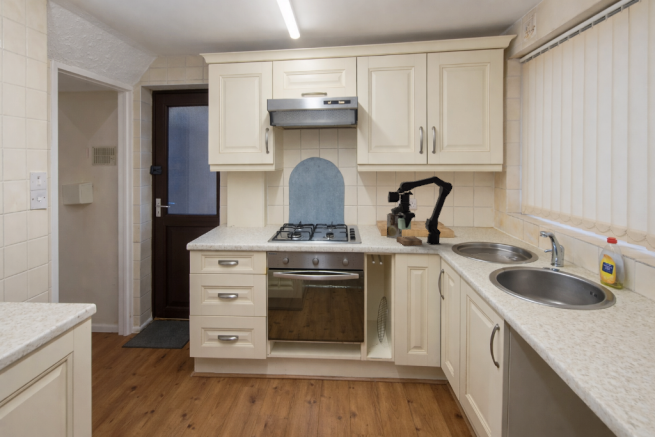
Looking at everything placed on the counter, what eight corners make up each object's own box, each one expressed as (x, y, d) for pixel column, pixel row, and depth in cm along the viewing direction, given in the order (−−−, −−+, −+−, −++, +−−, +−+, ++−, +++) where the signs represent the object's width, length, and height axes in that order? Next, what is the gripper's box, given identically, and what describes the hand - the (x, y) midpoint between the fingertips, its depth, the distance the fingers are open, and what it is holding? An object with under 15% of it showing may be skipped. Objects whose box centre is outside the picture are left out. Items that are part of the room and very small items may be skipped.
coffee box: (402, 237, 243) (403, 213, 241) (398, 238, 238) (399, 214, 235) (389, 235, 248) (390, 212, 245) (386, 237, 243) (386, 213, 240)
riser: (414, 240, 232) (414, 236, 231) (421, 245, 220) (422, 240, 220) (396, 241, 230) (396, 236, 229) (403, 245, 218) (403, 241, 218)
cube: (407, 227, 226) (407, 218, 225) (410, 229, 220) (411, 219, 219) (398, 228, 225) (398, 218, 224) (401, 229, 219) (401, 220, 218)
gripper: (387, 201, 228) (387, 225, 230) (397, 204, 210) (397, 230, 212) (403, 200, 230) (403, 224, 232) (415, 203, 212) (415, 229, 214)
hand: (404, 227), depth 223 cm, fingers closed on cube, 6 cm apart
